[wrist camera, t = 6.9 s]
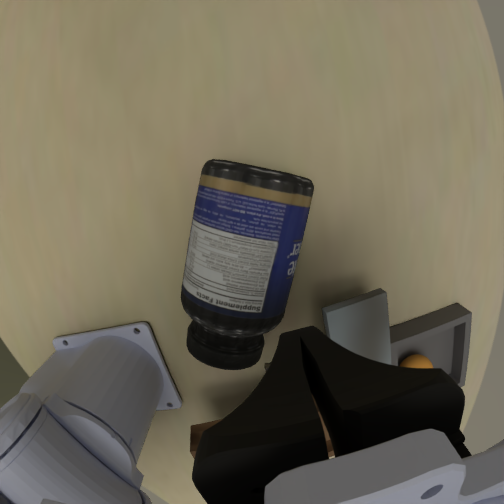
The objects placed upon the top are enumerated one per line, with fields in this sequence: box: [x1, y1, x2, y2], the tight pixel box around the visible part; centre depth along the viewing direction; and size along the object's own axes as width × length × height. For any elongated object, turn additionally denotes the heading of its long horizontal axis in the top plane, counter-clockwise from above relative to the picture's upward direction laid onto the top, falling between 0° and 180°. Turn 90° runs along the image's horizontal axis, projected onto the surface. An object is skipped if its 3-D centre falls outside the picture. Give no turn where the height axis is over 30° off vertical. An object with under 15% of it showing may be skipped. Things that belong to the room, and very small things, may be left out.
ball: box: [400, 354, 433, 368], centre depth 21 cm, size 3×3×3 cm
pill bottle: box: [181, 159, 314, 370], centre depth 18 cm, size 6×6×11 cm
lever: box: [190, 288, 391, 459], centre depth 18 cm, size 14×11×3 cm
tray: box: [389, 303, 472, 387], centre depth 22 cm, size 8×8×2 cm
